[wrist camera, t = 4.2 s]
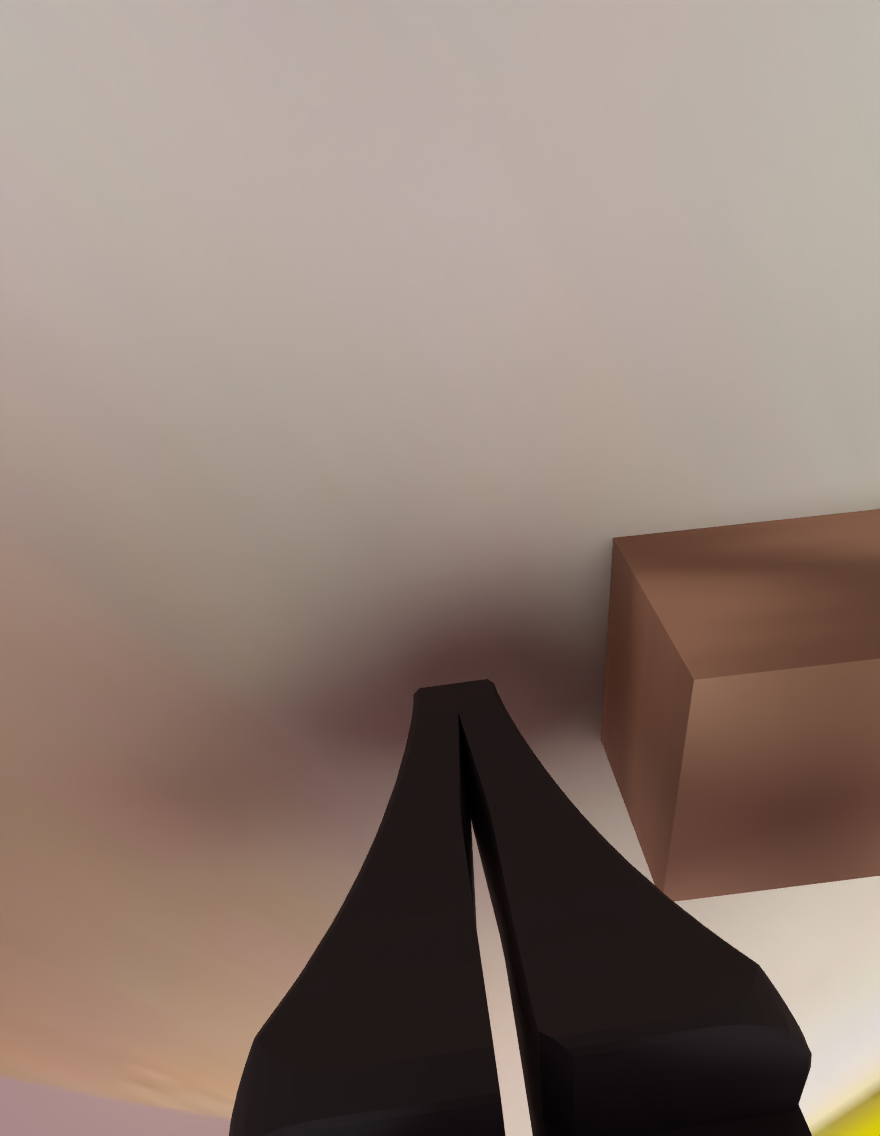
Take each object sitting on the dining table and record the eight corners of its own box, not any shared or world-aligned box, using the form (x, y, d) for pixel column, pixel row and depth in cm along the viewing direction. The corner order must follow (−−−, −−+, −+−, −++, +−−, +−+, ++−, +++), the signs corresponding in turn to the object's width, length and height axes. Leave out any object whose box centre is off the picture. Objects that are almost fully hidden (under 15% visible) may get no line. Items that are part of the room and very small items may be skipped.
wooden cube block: (599, 735, 16) (661, 902, 13) (611, 534, 14) (694, 679, 10) (825, 708, 16) (945, 867, 13) (881, 505, 14) (1049, 639, 10)
